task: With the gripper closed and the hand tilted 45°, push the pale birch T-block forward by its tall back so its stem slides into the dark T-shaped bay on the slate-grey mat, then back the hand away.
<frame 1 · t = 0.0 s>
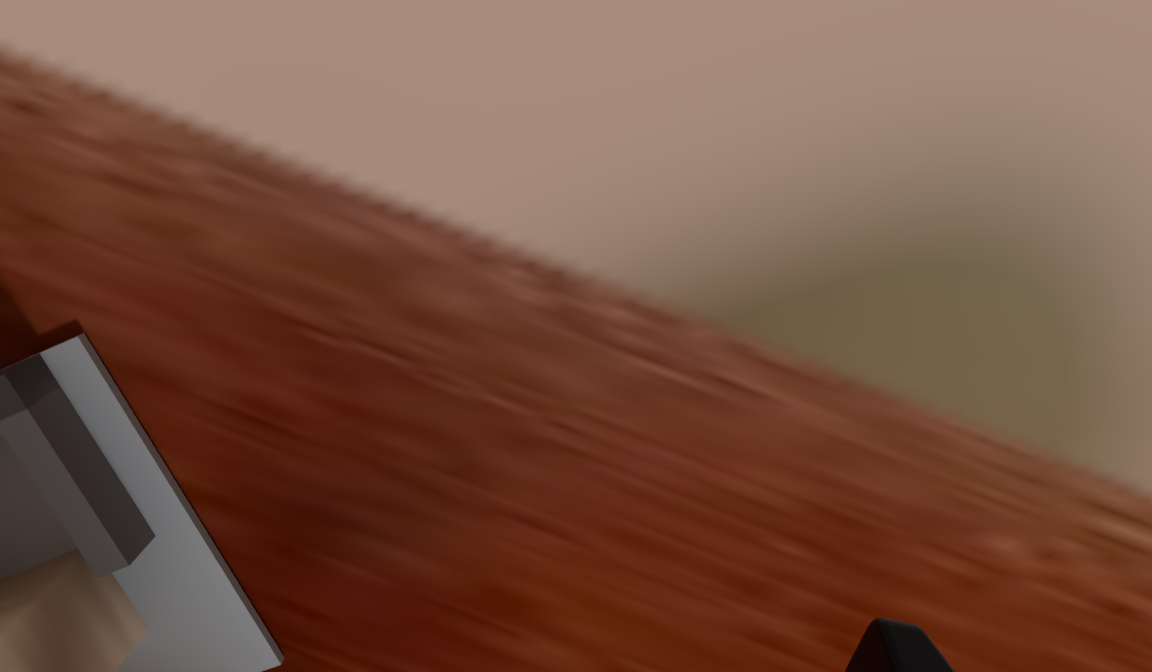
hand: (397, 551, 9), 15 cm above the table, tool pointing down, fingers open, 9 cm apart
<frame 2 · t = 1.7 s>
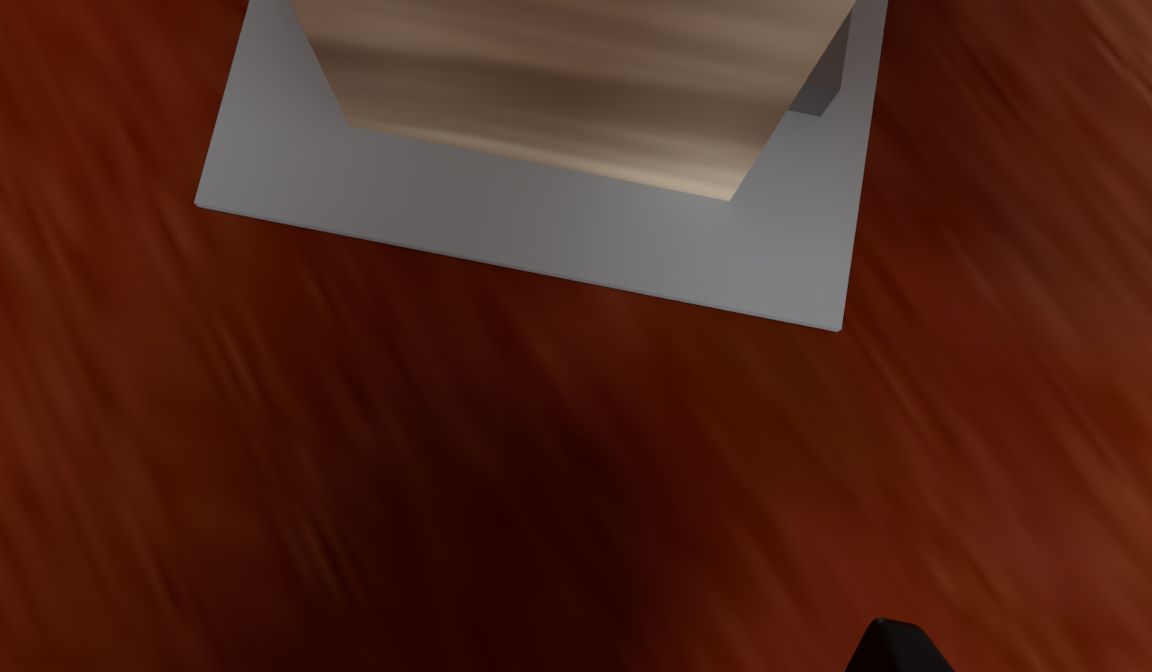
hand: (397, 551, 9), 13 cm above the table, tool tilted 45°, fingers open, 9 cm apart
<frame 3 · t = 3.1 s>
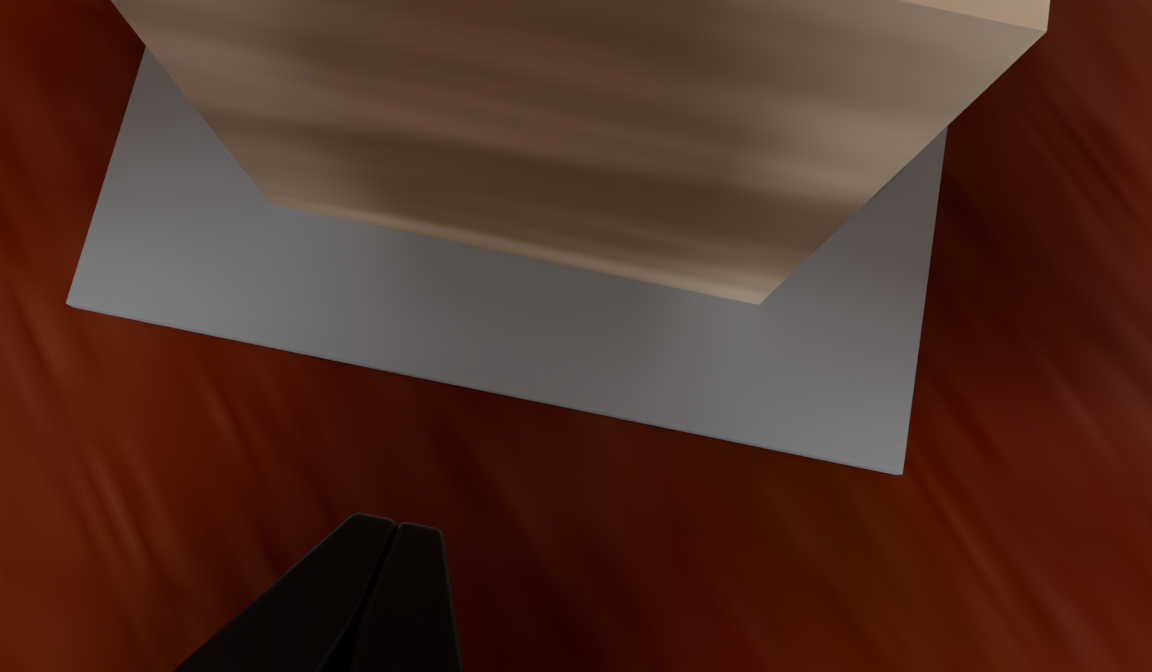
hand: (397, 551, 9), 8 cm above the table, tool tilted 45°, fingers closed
t block: (569, 7, 19), resting on t bay
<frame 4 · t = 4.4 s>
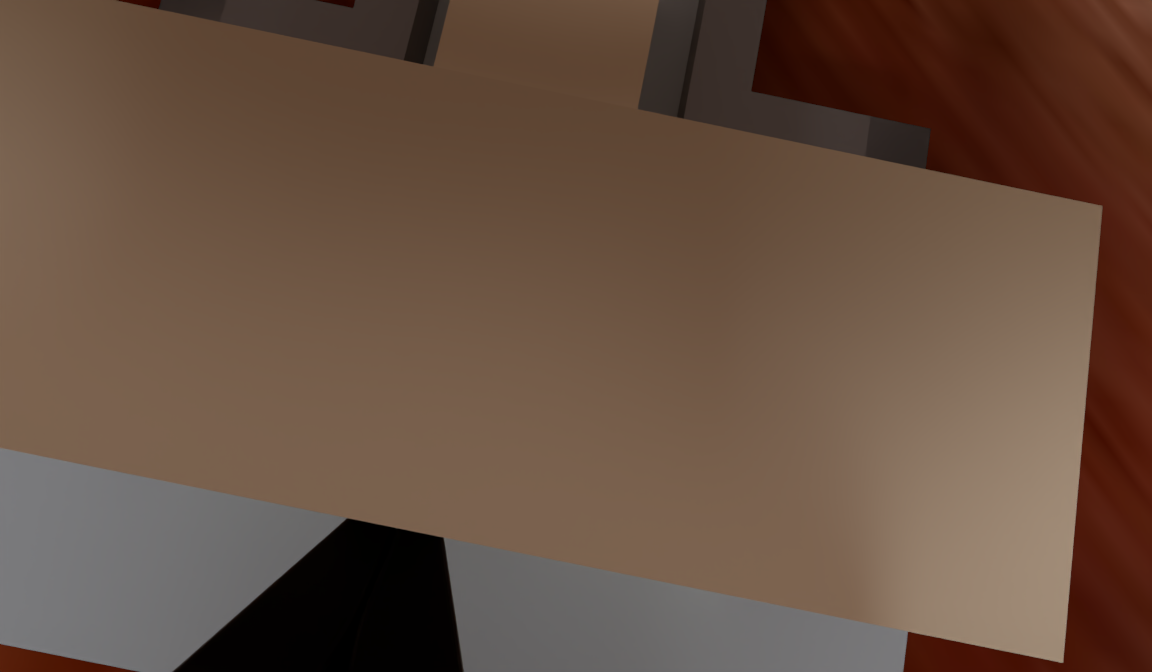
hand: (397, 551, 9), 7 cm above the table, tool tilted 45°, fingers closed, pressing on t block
t bay: (551, 88, 18), on the table
t block: (516, 239, 17), resting on t bay, touching gripper
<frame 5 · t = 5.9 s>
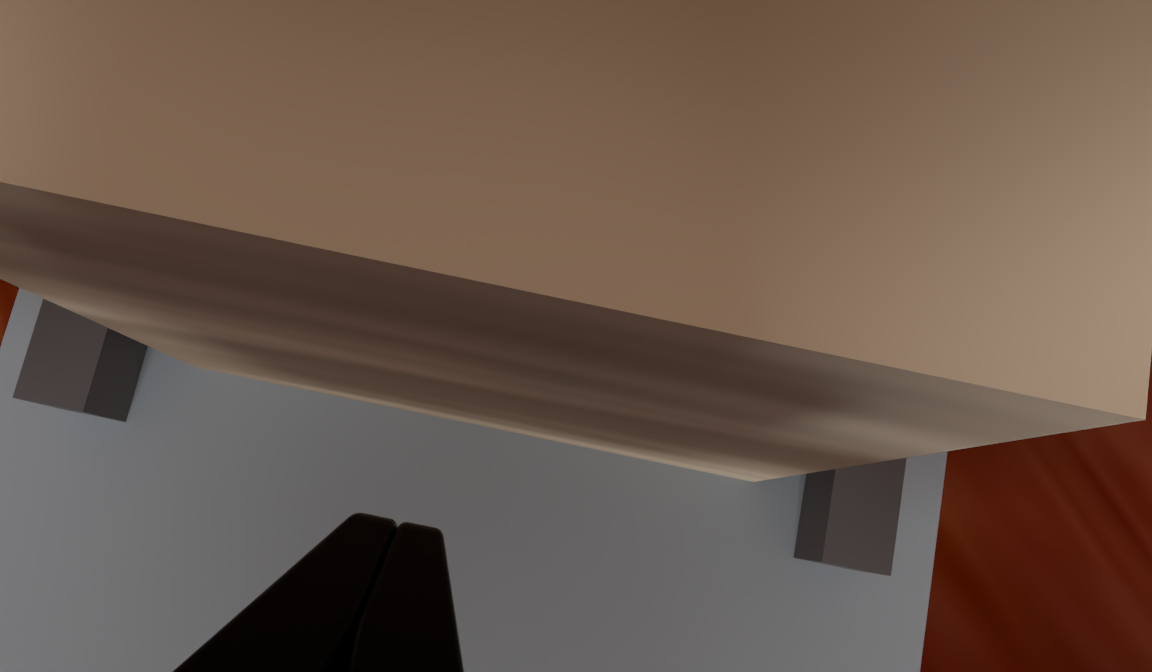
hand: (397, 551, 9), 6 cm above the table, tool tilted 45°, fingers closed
t bay: (538, 141, 17), on the table
t block: (539, 132, 16), resting on t bay
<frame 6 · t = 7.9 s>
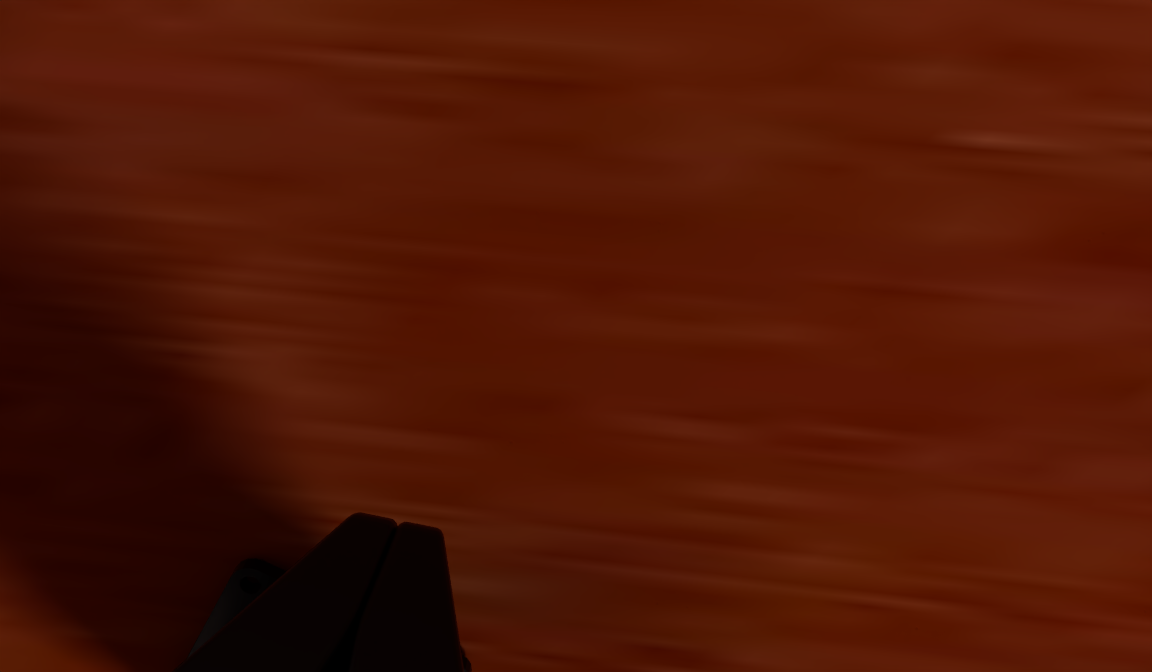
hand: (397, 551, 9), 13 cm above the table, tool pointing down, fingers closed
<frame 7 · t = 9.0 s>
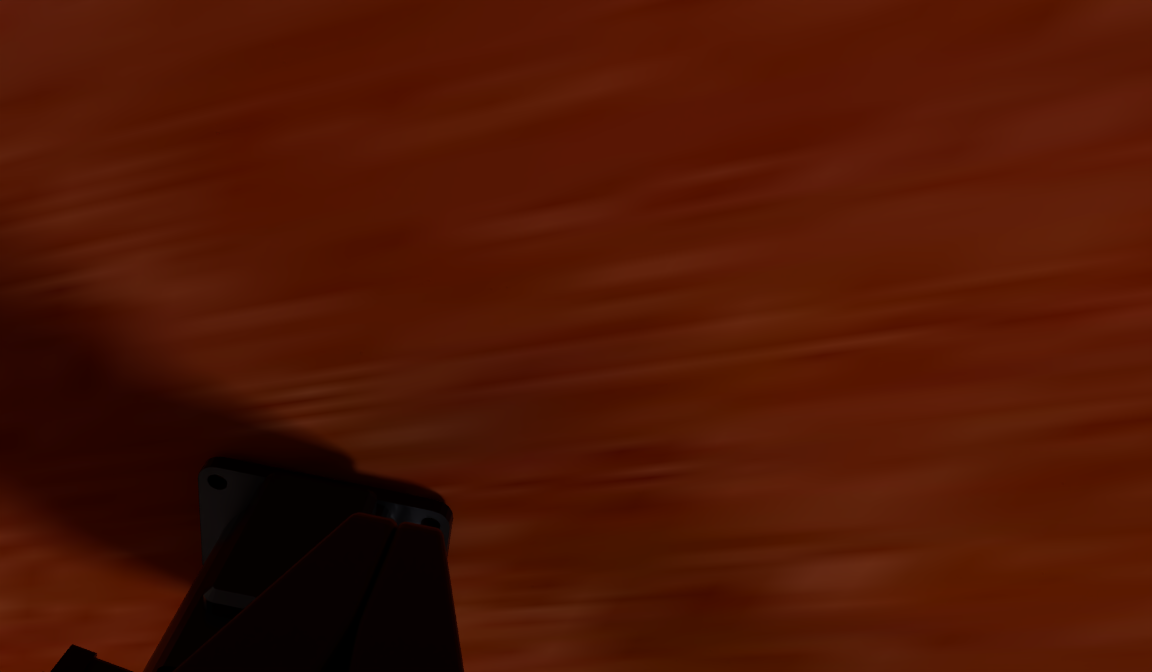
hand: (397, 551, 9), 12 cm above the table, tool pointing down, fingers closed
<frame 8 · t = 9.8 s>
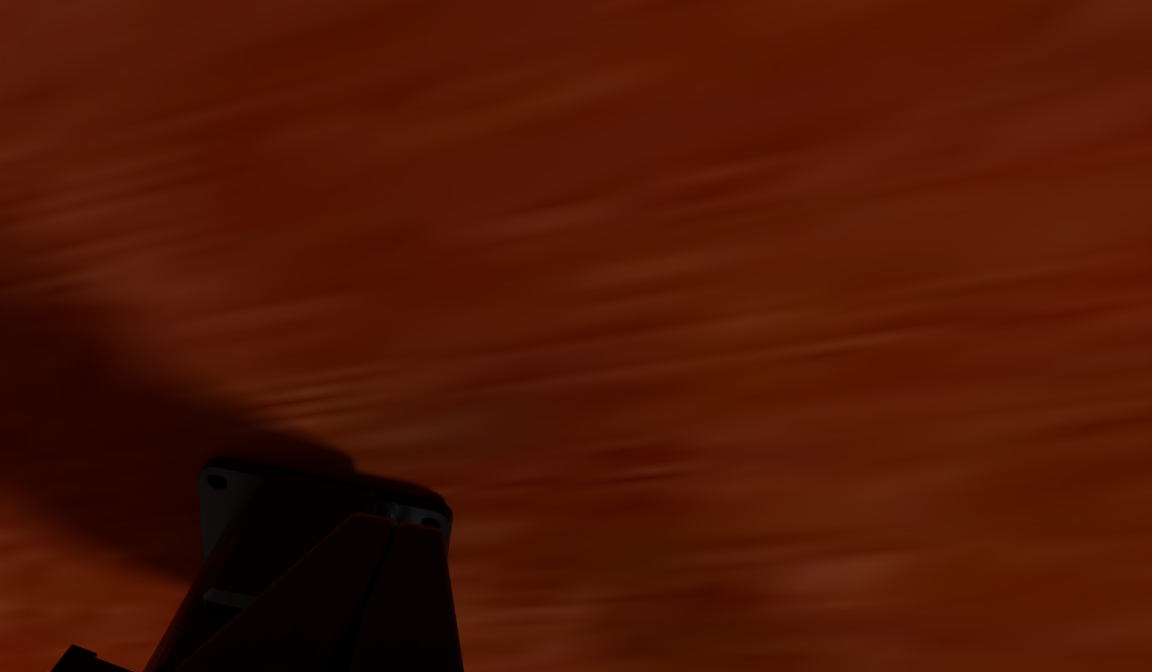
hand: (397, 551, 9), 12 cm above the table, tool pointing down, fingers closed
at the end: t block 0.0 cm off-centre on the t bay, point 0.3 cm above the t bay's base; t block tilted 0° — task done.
